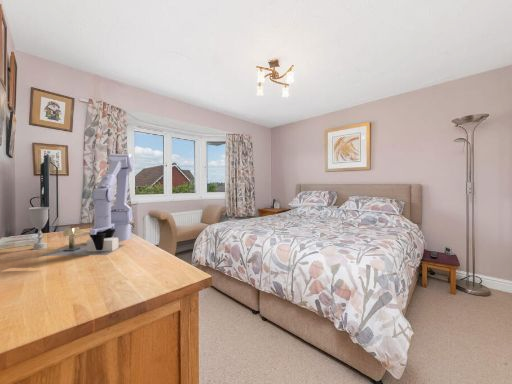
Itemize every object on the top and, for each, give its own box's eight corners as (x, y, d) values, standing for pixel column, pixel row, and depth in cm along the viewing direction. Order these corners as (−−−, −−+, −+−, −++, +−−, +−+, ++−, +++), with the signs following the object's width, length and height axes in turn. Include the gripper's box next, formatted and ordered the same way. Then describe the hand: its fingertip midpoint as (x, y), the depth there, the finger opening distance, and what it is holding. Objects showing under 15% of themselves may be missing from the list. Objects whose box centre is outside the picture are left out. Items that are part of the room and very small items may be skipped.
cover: (94, 248, 100) (94, 237, 100) (118, 247, 101) (118, 237, 100) (86, 251, 95) (86, 240, 95) (112, 251, 96) (112, 240, 95)
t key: (62, 250, 93) (62, 229, 93) (87, 242, 106) (87, 224, 105) (66, 250, 93) (66, 230, 93) (90, 242, 105) (90, 224, 105)
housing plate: (69, 247, 103) (69, 244, 103) (125, 246, 106) (125, 243, 106) (41, 258, 89) (41, 254, 88) (106, 257, 91) (106, 253, 91)
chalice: (33, 246, 104) (32, 207, 103) (52, 245, 107) (52, 206, 106) (25, 251, 97) (24, 208, 97) (46, 249, 100) (45, 208, 99)
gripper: (102, 213, 104) (103, 243, 104) (81, 218, 90) (81, 253, 90) (119, 213, 105) (119, 243, 105) (100, 218, 90) (100, 252, 91)
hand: (103, 247), depth 98 cm, fingers closed on cover, 5 cm apart
